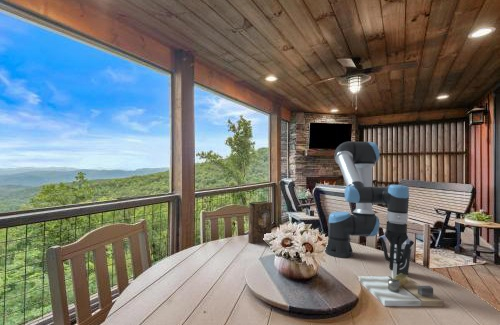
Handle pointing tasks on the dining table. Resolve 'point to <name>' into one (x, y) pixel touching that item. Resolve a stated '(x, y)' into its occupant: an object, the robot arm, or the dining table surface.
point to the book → (259, 221)
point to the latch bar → (397, 282)
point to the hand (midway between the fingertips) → (393, 277)
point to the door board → (400, 292)
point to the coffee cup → (405, 266)
